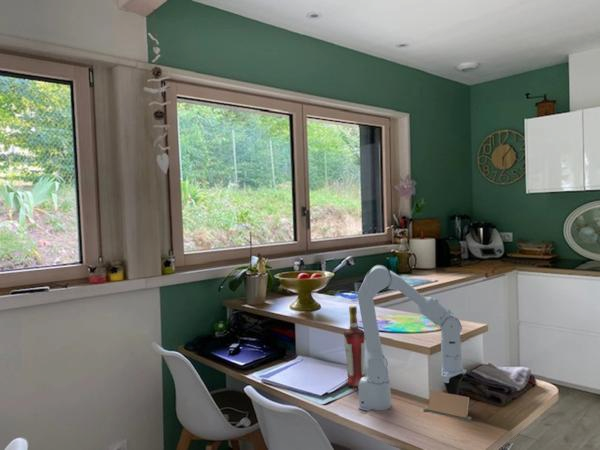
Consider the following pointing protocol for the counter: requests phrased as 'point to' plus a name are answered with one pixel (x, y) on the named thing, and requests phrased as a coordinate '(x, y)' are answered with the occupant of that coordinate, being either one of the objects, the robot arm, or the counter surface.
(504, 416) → the counter surface
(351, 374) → the liquor
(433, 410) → the tile
